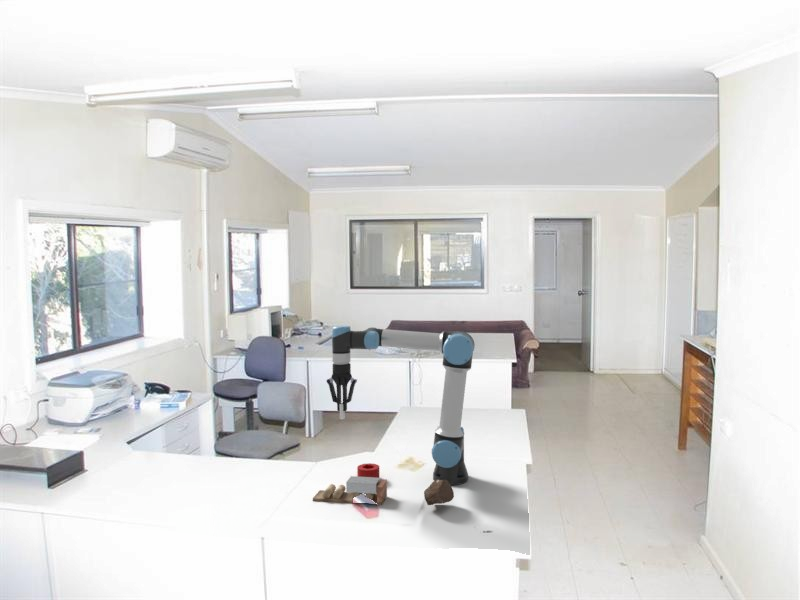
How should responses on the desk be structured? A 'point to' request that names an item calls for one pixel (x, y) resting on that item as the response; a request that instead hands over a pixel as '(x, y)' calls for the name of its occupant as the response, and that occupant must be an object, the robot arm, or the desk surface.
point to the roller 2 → (355, 495)
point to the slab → (362, 484)
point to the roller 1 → (329, 491)
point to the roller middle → (339, 492)
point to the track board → (347, 496)
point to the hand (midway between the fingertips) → (342, 418)
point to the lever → (368, 470)
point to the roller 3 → (369, 496)
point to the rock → (438, 492)
